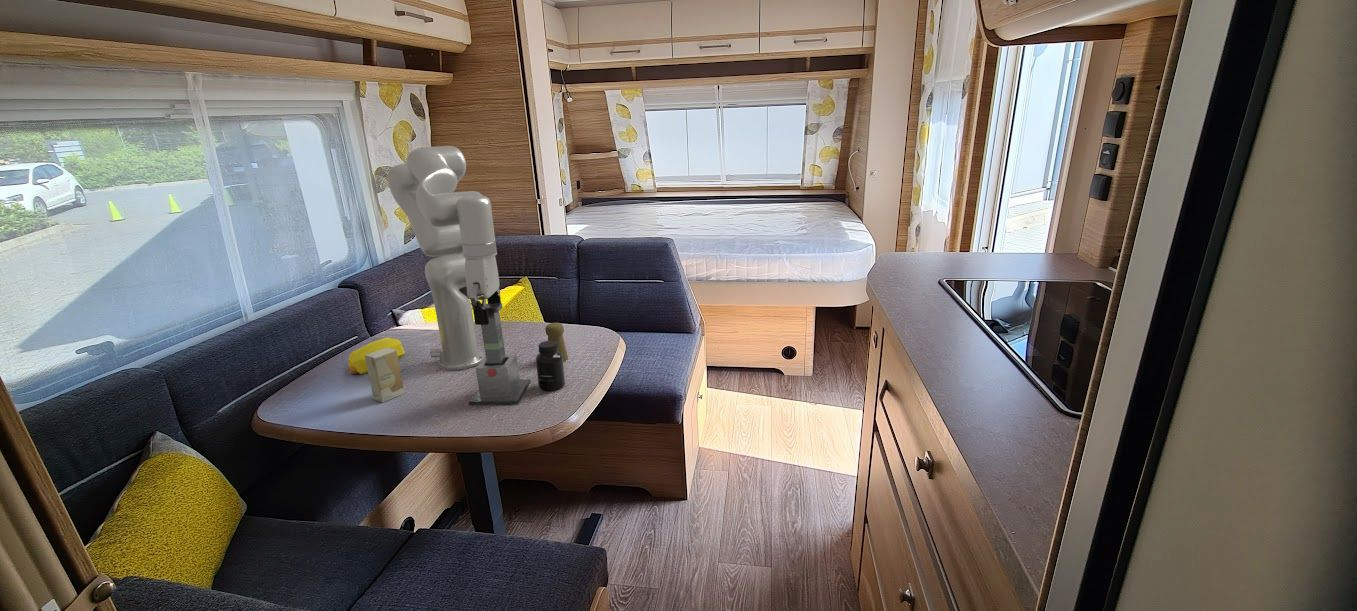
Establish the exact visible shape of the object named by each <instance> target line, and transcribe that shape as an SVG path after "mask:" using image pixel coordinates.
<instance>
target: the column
mask: <svg viewBox="0 0 1357 611" xmlns="http://www.w3.org/2000/svg"><path fill="white" fill-rule="evenodd" d="M485 308H487V311H488V318H489V324H488V325H480V328H481V334H482V339H483V348H484V349H483V350H484V355H485V357H486V361H487V366H492V365H504V364H505V362H506V356H505V355H506V350H505V342H504V335H503V329H502V321H501V315H500V314H501V313H500V311H502V310H503V303H502V302H501V303H496V304H488V303H486V307H485Z"/></svg>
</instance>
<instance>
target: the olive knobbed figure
mask: <svg viewBox="0 0 1357 611" xmlns="http://www.w3.org/2000/svg"><path fill="white" fill-rule="evenodd" d="M564 328H565V327H564V326H563V324H562V323H561V322H551V323H548V324H547V325H546V326H545V328H544V330H545V334H546V335H547V341H555V342H557V343H558V351H559V352H561V354H562V356H563V363H565V362H567V361H568V360H569V355H568V352H567V347H566V344H565V343H566V342H565V340H564V336H563V334H564V332H565V330H564ZM566 360H567V361H566Z"/></svg>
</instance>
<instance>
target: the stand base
mask: <svg viewBox="0 0 1357 611" xmlns="http://www.w3.org/2000/svg"><path fill="white" fill-rule="evenodd" d="M505 356H506V362H505V364H504V365H492V366H487V361H486V356H485V358H484V359H483V360H482V361H481V362H480V364H478V365H476V366H475V372H476V373H475V374H476V379H477V384H478V386H477V387H478V390H476V392H475V393H474V394H473V396H472V397H471V398H470V400H469V401H468V405H469V406H495V405H496V406H497V405H499V406H501V405H504V406H505V405H507V406H508V405H519V403H520V402H521V400H522V398H523V396H524V395H525V393H526V391H527V390H528V388H529V386H530V385H529V384H531V379H528V378H525V379H523V378H521V379H520V373H519V365H518V364H519V363H518V357H517V354H505ZM526 389H527V390H526Z"/></svg>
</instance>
